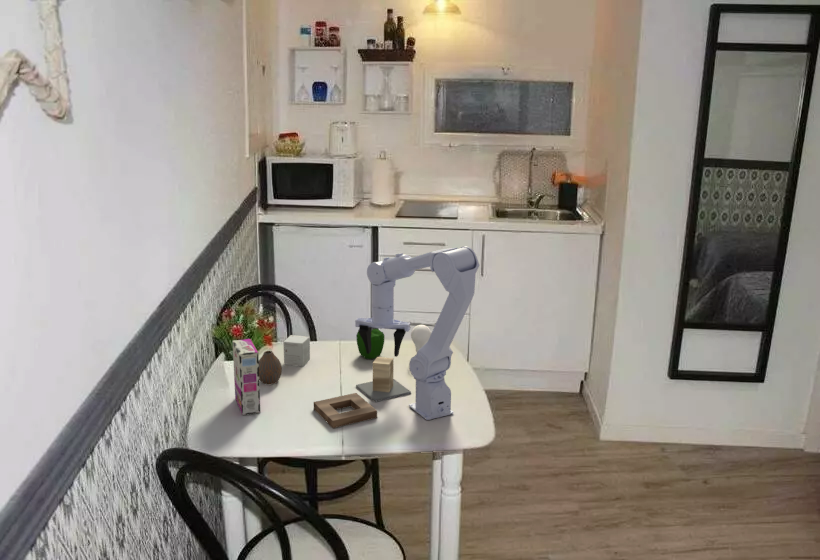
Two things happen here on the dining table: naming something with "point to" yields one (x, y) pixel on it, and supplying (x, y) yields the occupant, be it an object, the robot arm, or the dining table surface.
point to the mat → (378, 395)
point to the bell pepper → (376, 344)
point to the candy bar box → (246, 376)
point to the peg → (383, 374)
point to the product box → (296, 350)
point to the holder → (336, 419)
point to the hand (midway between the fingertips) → (382, 353)
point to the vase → (269, 368)
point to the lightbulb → (420, 336)
